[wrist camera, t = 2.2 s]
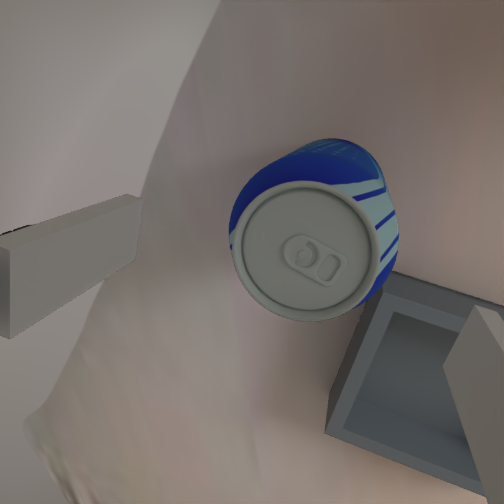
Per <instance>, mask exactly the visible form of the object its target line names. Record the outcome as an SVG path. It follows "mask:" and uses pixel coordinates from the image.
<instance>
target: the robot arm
mask: <svg viewBox="0 0 504 504" xmlns="http://www.w3.org/2000/svg"><path fill="white" fill-rule="evenodd" d="M142 207H143V199H141V198H138V197H135V196H132V195H129V194H125V195H122V196H119V197H116V198H113V199H110V200H107V201H104V202H101V203H98V204H95V205H92V206H89V207H86V208H83V209H80V210H77V211H74V212H71V213H68V214H65V215H62V216H59V217H56V218H53V219H50V220H47V221H44V222H41V223H38V224H34V225H26V226H23V227H20V228H17V229H14V230H13V231H8V232H5V233H2V235H0V336H3V337H6V338H8V339H11V338H13V337H14V336H16V335H18V334H19V333H21V332H22V331H24V330H26V329H27V328H29V327H30V326H32V325H33V324H35V323H37V322H38V321H40V320H41V319H43V318H44V317H46V316H48V315H49V314H51V313H52V312H54V311H55V310H57V309H59V308H60V307H62V306H63V305H65V304H66V303H68V302H70V301H71V300H72V299H74V298H76V297H77V296H79V295H81V294H82V293H84V292H85V291H87V290H88V289H90V288H92V287H93V286H95V285H96V284H98V283H99V282H101V281H103V280H104V279H106V278H107V277H109V276H110V275H112V274H113V273H115V272H117V271H118V270H120V269H121V268H123V267H124V266H126V265H128V264H129V263H131V262H132V261H134V260H135V259H136V251H137V244H138V236H139V229H140V221H141V214H142ZM443 369H444V372H445V375H446V378H447V381H448V384H449V387H450V390H451V393H452V396H453V399H454V402H455V405H456V408H457V411H458V414H459V417H460V420H461V423H462V426H463V429H464V432H465V435H466V438H467V441H468V444H469V447H470V450H471V453H472V456H473V459H474V462H475V465H476V468H477V471H478V474H479V477H480V481H481V484H482V487H483V490H484V493H485V496H486V499H487V502H488V504H504V321H503V320H502V318H501V317H500V315H499V314H498V312H496V311H493V310H490V309H487V308H483V307H480V306H477V305H474V307H473V309H472V311H471V313H470V315H469V317H468V319H467V320H466V322H465V324H464V326H463V328H462V330H461V332H460V334H459V336H458V338H457V339H456V341H455V343H454V345H453V347H452V349H451V351H450V353H449V355H448V357H447V358H446V360H445V362H444V364H443Z"/></svg>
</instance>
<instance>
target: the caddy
mask: <svg viewBox="0 0 504 504" xmlns="http://www.w3.org/2000/svg"><path fill="white" fill-rule="evenodd" d="M474 305H477V306H480V307H483V308H487V309H490V310H493V311H496V312H498V314H499V315H500V317H501V318H502V320H503V321H504V306H502V305H498V304H495V303H492V302H489V301H486V300H483V299H480V298H476V297H473V296H470V295H467V294H464V293H461V292H458V291H454V290H451V289H448V288H445V287H442V286H439V285H436V284H432V283H429V282H426V281H423V280H420V279H417V278H414V277H410V276H407V275H404V274H401V273H398V272H395V271H392V270H391V272H390V274H389V276H388V278H387V279H386V281H385V282H384V284H383V285H382V286H381V288H380V289H379V290H378V291H377V292H376V293H375V294H374V295H373V296H371V297H370V298H369V299H368V300H367V302H366V305H365V307H364V310H363V312H362V315H361V317H360V320H359V322H358V325H357V327H356V330H355V332H354V335H353V337H352V340H351V342H350V345H349V347H348V349H347V352H346V354H345V357H344V359H343V362H342V364H341V367H340V369H339V372H338V374H337V377H336V379H335V382H334V384H333V387H332V389H331V392H330V394H329V400H328V408H327V416H326V424H325V432H324V433H325V434H328V435H330V436H333V437H335V438H338V439H340V440H343V441H345V442H348V443H350V444H353V445H355V446H358V447H360V448H363V449H365V450H368V451H371V452H373V453H376V454H378V455H381V456H383V457H386V458H388V459H391V460H393V461H396V462H398V463H401V464H403V465H406V466H408V467H411V468H414V469H416V470H419V471H421V472H424V473H426V474H429V475H431V476H434V477H436V478H439V479H441V480H444V481H446V482H449V483H451V484H454V485H457V486H459V487H462V488H464V489H467V490H469V491H472V492H474V493H477V494H479V495H482V496H484V497H486V496H485V493H484V490H483V487H482V484H481V481H480V477H479V474H478V471H477V468H476V465H475V462H474V459H473V456H472V453H471V450H470V447H469V444H468V441H467V438H466V435H465V432H464V429H463V426H462V423H461V420H460V417H459V414H458V411H457V408H456V405H455V402H454V399H453V396H452V393H451V390H450V387H449V384H448V381H447V378H446V375H445V372H444V369H443V364H444V362H445V360H446V358H447V357H448V355H449V353H450V351H451V349H452V347H453V345H454V343H455V341H456V339H457V338H458V336H459V334H460V332H461V330H462V328H463V326H464V324H465V322H466V320H467V319H468V317H469V315H470V313H471V311H472V309H473V307H474Z"/></svg>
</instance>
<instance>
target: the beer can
mask: <svg viewBox="0 0 504 504" xmlns="http://www.w3.org/2000/svg"><path fill="white" fill-rule="evenodd" d="M229 242H230V249H231V254H232V257H233V261H234V265H235V269H236V272H237V274H238V276H239V279H240V281H241V282H242V284H243V286H244V287H245V289H246V290H247V291H248V293H249V294H250V295H251V296H252V297H253V298H254V299H255V300H256V301H257V302H258V303H259V304H261V305H262V306H263V307H265V308H266V309H268V310H269V311H271V312H273V313H275V314H277V315H279V316H282V317H285V318H288V319H292V320H296V321H306V322H313V321H323V320H328V319H331V318H334V317H337V316H340V315H342V314H344V313H346V312H347V311H349V310H351V309H353V308H355V307H357V306H359V305H361V304H362V303H364V302H365V301H367V300H368V299H369V298H370V297H371V296H373V295H374V294H375V293H376V292H377V291H378V290H379V289H380V288H381V286H382V285H383V284H384V282H385V281H386V279H387V278H388V276H389V274H390V272H391V270H392V268H393V266H394V263H395V260H396V256H397V252H398V245H399V228H398V222H397V217H396V214H395V210H394V207H393V204H392V201H391V198H390V195H389V192H388V189H387V185H386V182H385V179H384V176H383V173H382V171H381V168H380V167H379V165H378V163H377V162H376V160H375V159H374V158H373V157H372V155H371V154H370V153H368V152H367V151H366V150H365V149H363V148H362V147H360V146H359V145H357V144H355V143H352V142H350V141H347V140H342V139H322V140H317V141H314V142H311V143H309V144H307V145H305V146H303V147H301V148H299V149H297V150H295V151H294V152H292V153H290V154H288V155H286V156H284V157H282V158H280V159H279V160H277V161H275V162H273V163H271V164H269V165H268V166H266V167H264V168H263V169H261V170H260V171H259V172H258V173H257V174H255V175H254V176H253V177H252V178H251V179H250V180H249V182H248V183H247V184H246V185H245V186H244V188H243V189H242V191H241V192H240V194H239V196H238V198H237V200H236V202H235V204H234V207H233V210H232V213H231V217H230V223H229Z"/></svg>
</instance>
